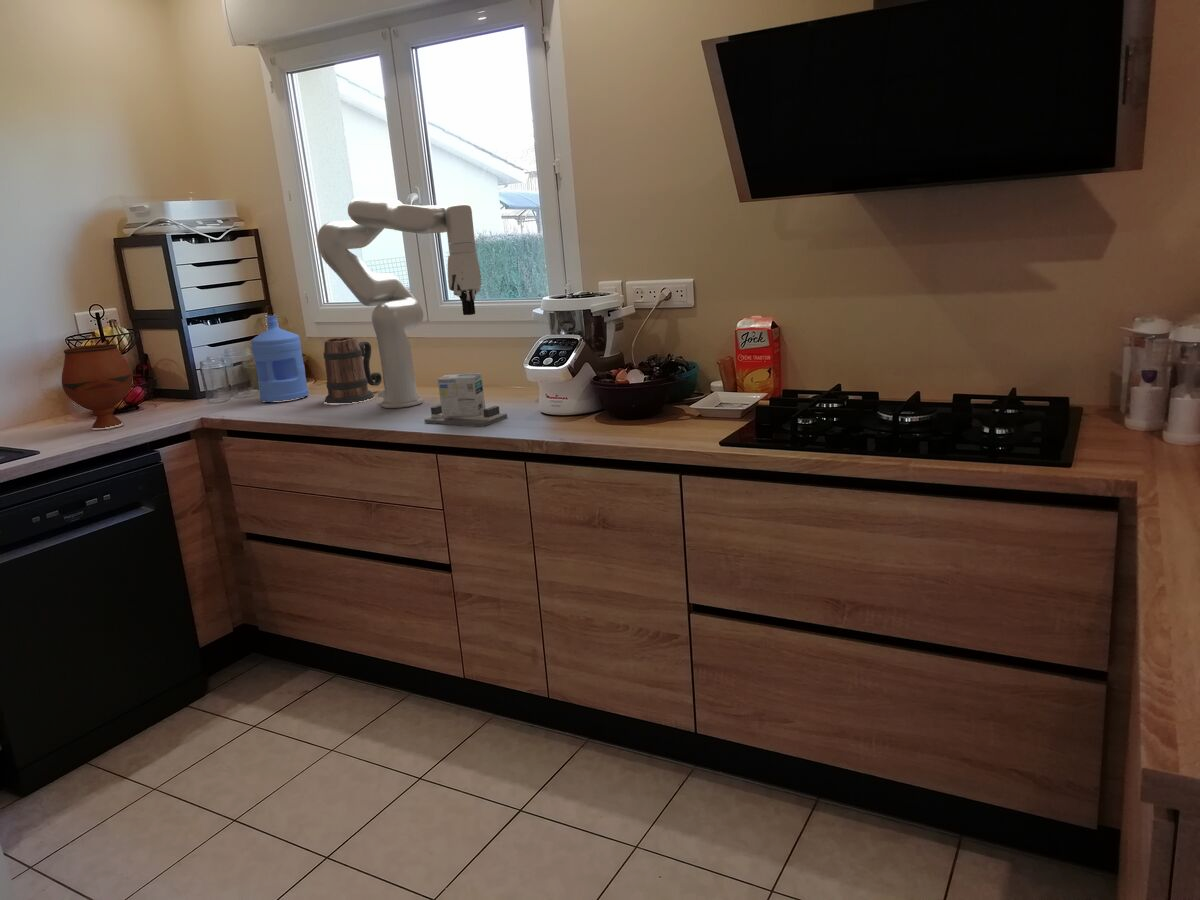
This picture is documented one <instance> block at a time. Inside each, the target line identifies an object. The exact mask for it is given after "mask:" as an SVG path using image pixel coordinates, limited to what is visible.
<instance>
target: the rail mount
mask: <svg viewBox="0 0 1200 900" xmlns="http://www.w3.org/2000/svg"><path fill="white" fill-rule="evenodd" d="M430 412H431V415H430V416H431V417H428V418H425V419H424V423H425V422H427V423H426V424H430V423H441V424H440V425H447V424H454V425H453V426H464V425H474V426H473V427H481V426H484V427H486V426H488V425H487V424H489V425H491V424H490V423H492V424H494V423H496V421H497V422H499V421H502V420H504V419H507V418H508V414H507V413H500V406H499V405H493V406H490V407H487V408H485V409H484V410H483V413H481V414H480V415H478V416H450V417H442V409H441V403H440V404H437V405H435V406H431V407H430ZM506 417H507V418H506ZM503 418H504V419H503ZM501 419H502V420H501ZM498 420H499V421H498ZM428 422H429V423H428ZM493 422H494V423H493ZM455 424H456V425H455ZM485 425H486V426H485Z"/></svg>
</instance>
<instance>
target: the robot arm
mask: <svg viewBox="0 0 1200 900" xmlns="http://www.w3.org/2000/svg"><path fill="white" fill-rule="evenodd" d="M347 214H348V217H349V218H350V220H333V221H330V222H329V221H328V222H326V223H324V224H323V225H322V226H321V227H320V228H319V230H318V233H317V238H316V239H317V240H316V242H317V248H318V251H319V254H320V256H321V258H322V259H323V261H324V262H325V263H326V264H327V265H328V267H329V268H330V269H331V270H332V271H333V272H334V273H335V274H336V276H338V277H339V279H340V280H341V281H342V282H343V284H344V285H345V286H346V288H348V290H349V291H350V292H351V293H352V294H353V296H354V297H355V298H356V299H357V300H358V302H360V303H361V304H362V305H363V306H366V307H373V306H374V309H373V310H372V313H371V324H372V326H373V330H374V333H375V335H376V339H377V340H376V341H377V344H378V351H379V357H380V363H381V364H380V365H381V370H382V371H381V373H382V378H383V379H382V381H383V386H384V390H380V391H379V392H378V393H377V398H383V399H382V402H381V407H382V408H386V409H400V408H401V409H402V408H409V407H413V406H418V405H420V404H422V403H423V401H424V399H423V397H421V396H418V392H417V383H416V375H415V367H414V359H413V352H412V345H411V342H410V339H409V338H408V336H407V333H406V331H409V330H412V329H413V330H414V329H416V328H418V327H419V326H420V325H421V324H422V323H423V321H424V320H423V319H424V311H423V307H422V306H421V305H420V303H419V300H417V298H416V297H415V296H414V295H413V294H412V293H411V292H410V290H409V289H408V288H407V287H406V286H405V285H404V283H403V282H402V280H401V279H399V278H398V277H397V276H396V275H394V274H392V273H390V272H377V273H376V272H373V271H372V270H370V268H369V267H368V266H367V265H366V264H365V262H364V261H363V260H362V259H361V258H360V257H358V256H357V255H356V254H355V253H352V251H350V250H354V249H355V250H356V249H362V248H365V247H368V245H370V244H371V243H372V242H373V241H375V239H376V238H377V237H378V236H379V235H380V234H381V233H382V232H383V231H384V230H385V229H387V230H394V231H398V232H405V233H412V234H422V235H423V234H424V235H425V234H426V235H427V234H428V235H429V234H441V233H442V234H443V233H446V236H447V244H448V252H449V254H448V257H447V282H448V289H449V290H450V291H452V292H453V295H454V296H456V297H459V300H460V302H461V305H462V306H461V308H462V314H463V315H464V316H472V315H476V307H475V300H476V295H477V294H478V293H480V288H481V286H482V276H481V269H480V263H479V258H478V255H477V248H476V242H475V241H476V240H475V231H474V220H473V211H472V208H471V206H470V204H467V203H461V204H459V203H458V204H449V205H415V204H414V205H413V204H406V203H405V204H403V203H402V202H401V201H400V200H398V199H394V198H386V197H383V196H378V195H377V196H376V195H375V196H374V195H373V196H371V195H369V196H366V195H365V196H364V195H363V196H358V197H355V198H353V199H352V200H351V201H350V202H349V204H348V206H347Z"/></svg>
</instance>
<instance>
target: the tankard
mask: <svg viewBox="0 0 1200 900" xmlns="http://www.w3.org/2000/svg"><path fill="white" fill-rule="evenodd" d="M371 357H372V345H371V344H370V342H369V341H360V342H359V341H358V338H357V337H342V338H340V337H339V338H336V337H335V338H329V339H326V340H324V349H323V359H324V364H325V374H326V383H325V385H326V388H327V395H326V396H325V399H324V401H325V402H327V403H352V402H359V401H364V400H367V399H371V398H373V397H374V396H375V395H374V394H373V392H372V391H371V390H369V385H370V386H371V387H372V386H373V387H374V386H376V387H377V386H379V385H380V384H381V383H382V381H383V379H382V378H383V376H382V374H381V373H380V372H372V373H371V369H370V367H371V366H370V360H371Z"/></svg>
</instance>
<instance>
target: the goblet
mask: <svg viewBox="0 0 1200 900" xmlns="http://www.w3.org/2000/svg"><path fill="white" fill-rule="evenodd" d="M63 353H64V360H63V367H62V372H61V387H62V390H63V392H64V393H65V395H66V396H67V397H68V398H69V399H71V400H72V401H73V402H74V403H76V404H77V405H78V406H80V407H83V408H85V409H87V410H89V411H92V415H94V416H95V417H96V419H95V421H94V423H93V424H92V427H91V429H92V428H105V427H110V426H115V425H119V424H121V423H122V422H123V421H122V420H120V418H118V417H116V416H115V414H114V412H115V407H116V406H117V405H119V404H120V403H121V402H122V401H123V400H125V398H126V397H127V396H128V394H129V392H130V390H131V389H132V387H133V380H134V375H133V372H132V368H131V367H130V364H129V363H128V362H127V360H126V358H125V357H124V356H123V354H122V352H121V351H120V350H119V347H118V344H115V343H114V344H113V343H112V344H111V343H110V344H108V343H105V344H92V345H91V344H89V345H82V346H74V347H70V348H67V349H64V350H63Z"/></svg>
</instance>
